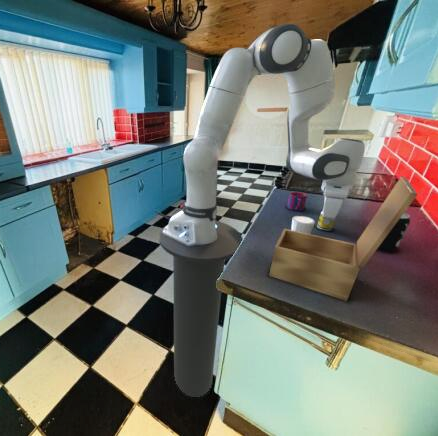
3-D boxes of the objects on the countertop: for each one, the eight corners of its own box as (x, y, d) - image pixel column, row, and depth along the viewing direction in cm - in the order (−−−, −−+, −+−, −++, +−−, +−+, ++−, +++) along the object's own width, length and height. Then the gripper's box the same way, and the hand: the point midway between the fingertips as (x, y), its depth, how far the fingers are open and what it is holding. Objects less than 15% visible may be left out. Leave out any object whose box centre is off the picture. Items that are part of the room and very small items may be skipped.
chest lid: (411, 192, 44) (418, 194, 44) (401, 176, 53) (406, 177, 53) (358, 266, 54) (363, 267, 53) (356, 242, 63) (360, 243, 62)
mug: (303, 206, 111) (306, 192, 108) (304, 214, 103) (307, 199, 100) (287, 204, 114) (290, 191, 111) (286, 212, 106) (289, 198, 103)
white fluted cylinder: (314, 240, 84) (319, 222, 81) (296, 242, 83) (300, 224, 80) (302, 231, 90) (306, 214, 87) (284, 233, 90) (288, 216, 87)
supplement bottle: (314, 225, 94) (319, 205, 90) (326, 225, 93) (333, 205, 90) (321, 230, 89) (327, 210, 86) (334, 230, 89) (341, 210, 85)
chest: (269, 275, 68) (275, 246, 64) (278, 255, 77) (284, 228, 73) (346, 301, 58) (359, 268, 54) (346, 274, 67) (358, 244, 63)
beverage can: (389, 254, 74) (405, 220, 69) (365, 245, 79) (377, 212, 74) (400, 249, 76) (416, 215, 71) (376, 240, 82) (389, 208, 77)
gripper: (327, 177, 93) (318, 209, 99) (324, 192, 79) (313, 229, 84) (348, 179, 90) (337, 213, 95) (348, 195, 75) (335, 233, 81)
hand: (326, 220), depth 90 cm, fingers closed on supplement bottle, 5 cm apart
